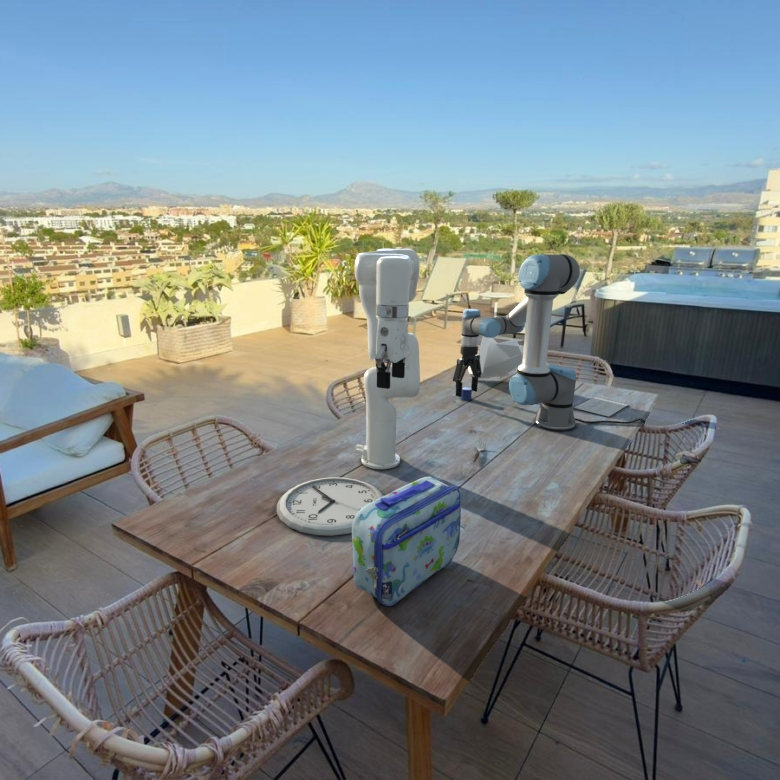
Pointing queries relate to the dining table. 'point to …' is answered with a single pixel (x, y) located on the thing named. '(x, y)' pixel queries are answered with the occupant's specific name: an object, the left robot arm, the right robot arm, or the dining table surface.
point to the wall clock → (325, 505)
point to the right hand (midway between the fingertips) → (466, 393)
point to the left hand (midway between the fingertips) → (391, 382)
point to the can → (466, 393)
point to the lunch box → (405, 538)
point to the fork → (479, 450)
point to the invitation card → (601, 406)
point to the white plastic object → (498, 357)
